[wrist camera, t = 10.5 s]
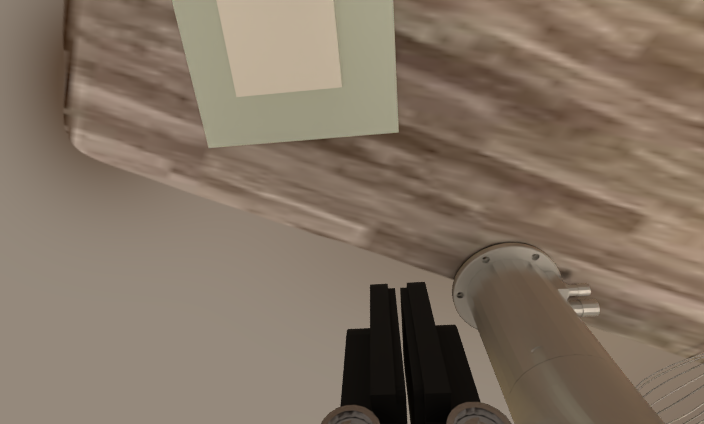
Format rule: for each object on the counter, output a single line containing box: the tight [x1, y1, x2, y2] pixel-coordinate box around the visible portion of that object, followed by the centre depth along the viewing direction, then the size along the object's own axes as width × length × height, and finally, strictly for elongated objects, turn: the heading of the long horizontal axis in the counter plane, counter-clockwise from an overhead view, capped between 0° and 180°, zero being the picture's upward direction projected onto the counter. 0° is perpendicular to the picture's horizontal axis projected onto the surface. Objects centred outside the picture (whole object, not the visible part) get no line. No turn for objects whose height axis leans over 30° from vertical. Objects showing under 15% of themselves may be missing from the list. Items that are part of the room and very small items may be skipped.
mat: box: [172, 0, 399, 148], centre depth 34 cm, size 20×20×1 cm
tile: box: [216, 0, 343, 97], centre depth 33 cm, size 2×10×10 cm
